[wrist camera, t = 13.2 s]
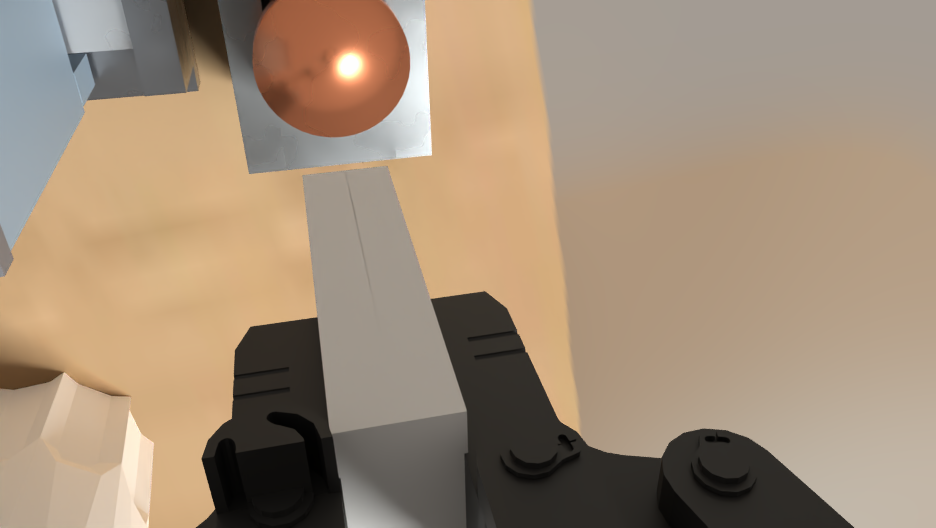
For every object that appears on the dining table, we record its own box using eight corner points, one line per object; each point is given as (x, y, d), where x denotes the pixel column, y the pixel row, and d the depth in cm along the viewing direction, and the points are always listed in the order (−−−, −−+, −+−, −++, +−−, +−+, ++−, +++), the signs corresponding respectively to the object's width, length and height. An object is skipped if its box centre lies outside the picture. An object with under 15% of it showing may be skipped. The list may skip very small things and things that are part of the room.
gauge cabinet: (253, 89, 32) (249, 173, 26) (216, -128, 28) (200, -95, 21) (399, 77, 33) (431, 154, 27) (385, -135, 29) (419, -106, 22)
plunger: (266, 51, 31) (265, 144, 23) (247, -70, 28) (239, -11, 21) (380, 42, 31) (414, 129, 24) (371, -77, 29) (405, -22, 22)
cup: (194, 482, 43) (176, 652, 34) (3, 528, 42) (-63, 715, 33) (128, 338, 37) (88, 500, 29) (-95, 387, 36) (-202, 570, 28)
